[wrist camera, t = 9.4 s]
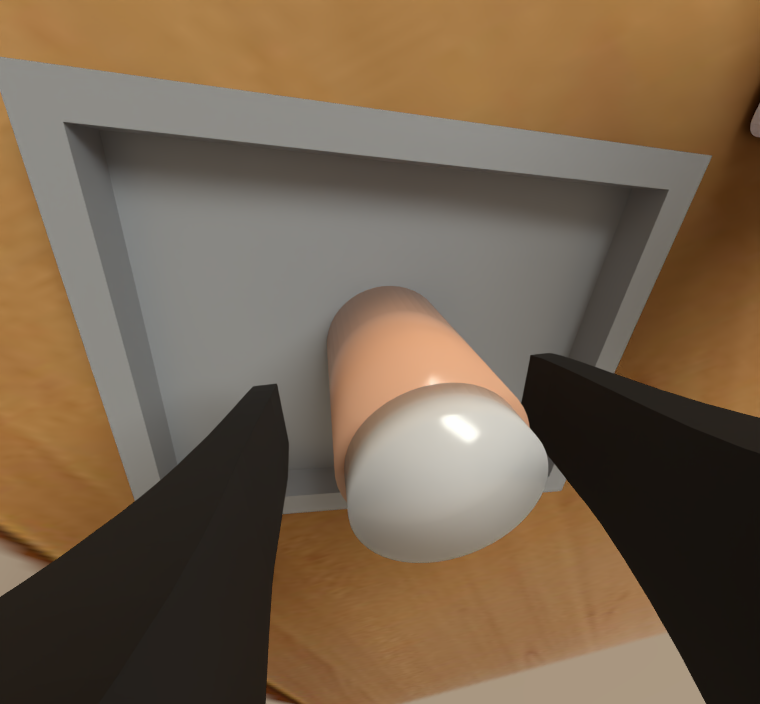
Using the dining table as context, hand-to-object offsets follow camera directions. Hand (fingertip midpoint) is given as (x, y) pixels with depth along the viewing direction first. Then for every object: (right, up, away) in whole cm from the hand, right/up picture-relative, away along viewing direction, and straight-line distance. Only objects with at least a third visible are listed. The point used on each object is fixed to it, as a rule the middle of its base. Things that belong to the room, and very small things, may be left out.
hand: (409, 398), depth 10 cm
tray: (-1, +2, +4) cm, 4 cm away
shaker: (-1, +2, +3) cm, 4 cm away
